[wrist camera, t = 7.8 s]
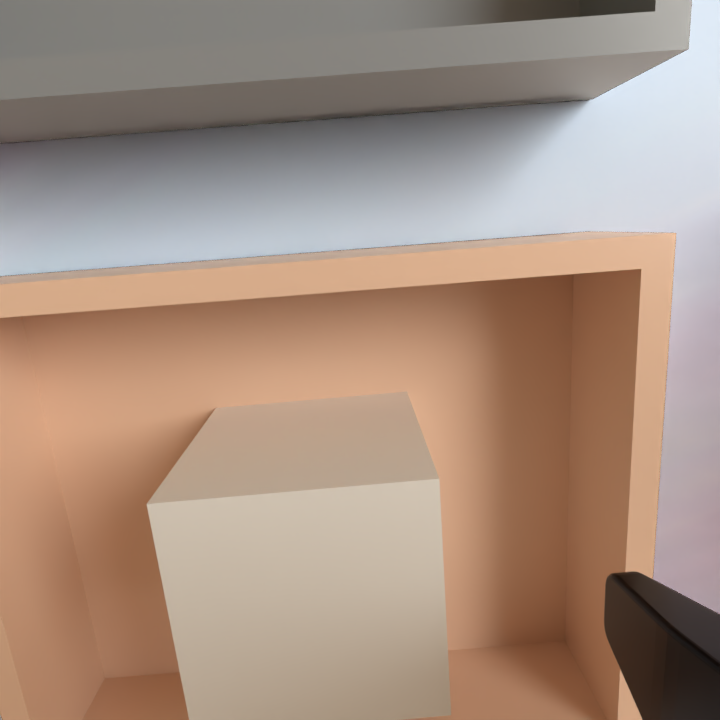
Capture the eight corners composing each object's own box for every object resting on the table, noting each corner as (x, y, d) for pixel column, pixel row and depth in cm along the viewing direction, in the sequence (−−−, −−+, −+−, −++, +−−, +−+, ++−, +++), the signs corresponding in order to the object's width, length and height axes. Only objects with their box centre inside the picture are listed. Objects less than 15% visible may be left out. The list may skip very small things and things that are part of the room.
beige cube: (406, 391, 11) (439, 478, 7) (417, 559, 12) (451, 715, 8) (215, 407, 11) (146, 504, 7) (241, 574, 12) (192, 738, 8)
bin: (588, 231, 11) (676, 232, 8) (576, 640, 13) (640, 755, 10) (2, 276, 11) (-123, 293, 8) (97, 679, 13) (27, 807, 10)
